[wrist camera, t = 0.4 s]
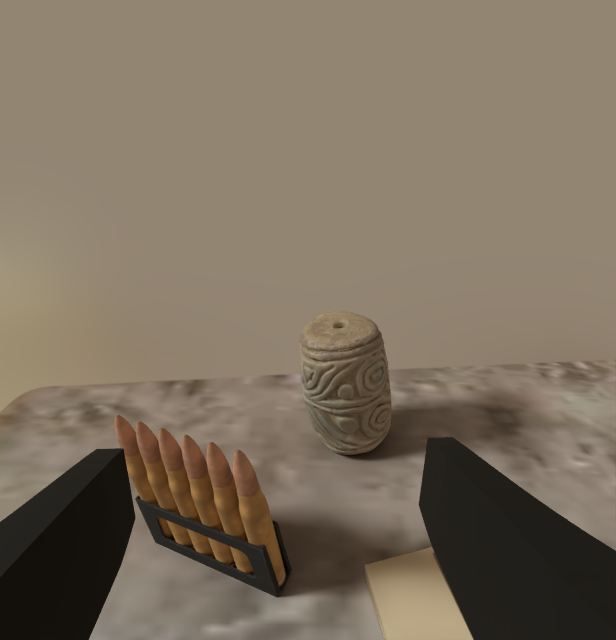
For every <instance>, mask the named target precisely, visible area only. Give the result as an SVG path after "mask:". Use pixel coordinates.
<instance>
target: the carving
mask: <svg viewBox="0 0 616 640" xmlns="http://www.w3.org/2000/svg"><path fill="white" fill-rule="evenodd" d="M299 347H300V356H301V378H302V379H301V381H302V391H303V398H304V401H305V404H306V407H307V410H308V413H309V416H310V419H311V423H312V426H313V428H314V429H315V430H316V432H317V434H318V436H319V438H320V440H321V441H322V443H323V444H324V445H325V446H326V447H327V448H328V449H330V450H331V451H333V452H335V453H339V454H343V455H354V454H360V453H365V452H369V451H371V450H373V449H374V448H375V447H377V446H378V445H379V444H380V443H381V442H382V441H383V439H384V438H385V437H386V435H387V433H388V431H389V429H390V426H391V392H390V383H389V374H388V361H387V358H386V353H385V349H384V342H383V339H382V334H381V332H380V331H379V330H378V327H377V325H376V324H375V323H374V322H373V321H372V320H370V319H368V318H366V317H364V316H361V315H358V314H354V313H349V312H330V313H325V314H323V315H320V316H318V317H316V318H315V319H314V320H313V321H312V322H311V323H309V324H308V325H306V326H305V328H304V329H303V330H302V332H301V336H300V342H299Z"/></svg>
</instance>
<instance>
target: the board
mask: <svg viewBox="0 0 616 640" xmlns="http://www.w3.org/2000/svg"><path fill="white" fill-rule="evenodd" d="M365 578H366V581H367V585H368V588H369V591H370V594H371V598H372V601H373V604H374V608H375V611H376V614H377V617H378V621H379V624H380V627H381V631H382V634H383V637H384V640H474V639H473V637H472V635H471V633H470V630H469V628H468V626H467V624H466V622H465V619H464V617H463V615H462V613H461V610H460V608H459V606H458V604H457V602H456V599H455V597H454V595H453V593H452V591H451V588H450V586H449V584H448V582H447V579H446V577H445V575H444V573H443V570H442V568H441V566H440V564H439V561H438V559H437V557H436V555H435V552H434V550H433V548H432V547H429V548H426V549H422V550H418V551H415V552H411V553H407V554H403V555H400V556H396V557H392V558H389V559H385V560H381V561H377V562H374V563H370V564H366V565H365Z"/></svg>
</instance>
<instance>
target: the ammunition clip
mask: <svg viewBox="0 0 616 640" xmlns="http://www.w3.org/2000/svg"><path fill="white" fill-rule="evenodd" d="M115 430H116V436H117V440H118V443H119V446H120V448H124V453H125V459H126V464H127V470H128V473H129V476H130V478H131V480H132V482H133V484H134V486H135V488H136V490H137V492H138V494H139V495H138V496H137V497H136V502H137V504H138V506H139V508H140V510H141V512H142V515H143V517H144V519H145V521H146V523H147V525H148V527H149V530H150V532H151V534H152V536H153V538H154V540H155V542H156V543H158V544H160V545H162V546H164V547H167V548H169V549H171V550H173V551H175V552H178V553H180V554H182V555H184V556H187V557H189V558H191V559H193V560H195V561H198V562H200V563H202V564H204V565H206V566H209V567H211V568H213V569H215V570H218V571H220V572H222V573H224V574H226V575H229V576H231V577H233V578H235V579H238V580H240V581H242V582H244V583H246V584H249V585H251V586H253V587H255V588H257V589H260V590H262V591H264V592H266V593H269V594H271V595H273V596H275V597H279V596H280V595H281V593H282V591H283V588H284V586H285V584H286V582H287V579H288V577H289V575H290V573H291V567H290V563H289V560H288V557H287V554H286V551H285V547H284V544H283V540H282V537H281V533H280V530H279V526H278V523H277V522H275V521H272V519H271V515H270V511H269V507H268V503H267V500H266V498H265V496H264V494H263V493H262V491H261V488H260V485H259V483H258V480H257V477H256V474H255V472H254V469H253V467H252V465H251V463H250V461H249V460H248V458H247V457H246V455H245V454H244V453H243V452H242V451H240V450H236V452H235V455H234V460H233V474H234V477H233V474H232V472H231V469H230V467H229V464H228V462H227V460H226V458H225V456H224V454H223V453H222V451H221V450H220V448H219V447H218V446H217V445H216V444H214V443H213V442H210V443H209V444H208V447H207V463H206V460H205V458H204V455H203V453H202V451H201V450H200V448H199V446H198V445H197V444H196V442H195V441H194V440H193V439H192V438H191V437H190V436H188V435H184V436H183V440H182V450H181V448H180V446H179V445H178V443H177V441H176V440H175V438H174V437H173V436H172V435H171V434H170V433H169V432H168V431H167V430H166V429H164V428H161V429H160V431H159V437H158V438H159V442H158V440H157V438H156V437H155V435H154V434H153V432H152V431H151V430H150V429H149V428H148V427H147V426H146V425H145V424H144V423H142V422H141V421H139V422H137V425H136V432H135V430H134V429H133V427H132V426H131V425H130V424H129V423H128V422H127V421H126V420H125V419H124V418H123V417H121V416H120V415H117V416H116V418H115Z"/></svg>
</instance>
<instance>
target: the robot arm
mask: <svg viewBox="0 0 616 640" xmlns="http://www.w3.org/2000/svg"><path fill="white" fill-rule="evenodd" d="M419 507H420V510H421V513H422V517H423V520H424V523H425V526H426V530H427V533H428V536H429V539H430V542H431V545H432V548H433V550H434V552H435V555H436V557H437V559H438V561H439V564H440V566H441V568H442V570H443V573H444V575H445V577H446V579H447V582H448V584H449V586H450V588H451V591H452V593H453V595H454V597H455V599H456V602H457V604H458V606H459V608H460V610H461V613H462V615H463V617H464V619H465V622H466V624H467V626H468V628H469V630H470V633H471V635H472V637H473V639H474V640H616V551H615V550H614V549H612V548H610V547H609V546H607V545H605V544H604V543H602V542H601V541H599V540H597V539H596V538H594V537H593V536H591V535H589V534H588V533H586V532H585V531H583V530H582V529H580V528H579V527H577V526H576V525H574V524H573V523H571V522H570V521H568V520H567V519H565V518H564V517H562V516H561V515H559V514H558V513H556V512H555V511H553V510H552V509H550V508H549V507H548V506H546V505H545V504H543V503H542V502H540V501H539V500H538V499H536V498H535V497H533V496H532V495H530V494H529V493H528V492H526V491H525V490H524V489H522V488H521V487H519V486H518V485H517V484H515V483H514V482H513V481H511V480H510V479H509V478H507V477H506V476H504V475H503V474H502V473H500V472H499V471H498V470H496V469H495V468H494V467H492V466H491V465H490V464H488V463H487V462H486V461H484V460H483V459H482V458H480V457H479V456H478V455H476V454H475V453H474V452H472V451H471V450H470V449H468V448H467V447H466V446H464V445H463V444H461V443H460V442H458V441H457V440H455V439H454V438H452V437H445V438H428V441H427V448H426V455H425V463H424V470H423V478H422V485H421V492H420V500H419ZM134 521H135V512H134V506H133V500H132V494H131V489H130V483H129V477H128V471H127V465H126V459H125V453H124V448H120V449H96V450H95V451H93V452H92V453H90V454H89V455H88V456H86V457H85V458H84V459H82V460H81V461H80V462H78V463H77V464H76V465H74V466H73V467H72V468H70V469H69V470H68V471H66V472H65V473H64V474H63V475H61V476H60V477H59V478H57V479H56V480H55V481H54V482H52V483H51V484H50V485H48V486H47V487H46V488H44V489H43V490H42V491H41V492H39V493H38V494H37V495H35V496H34V497H33V498H31V499H30V500H29V501H27V502H26V503H25V504H23V505H22V506H21V507H20V508H18V509H17V510H16V511H14V512H13V513H12V514H10V515H9V516H8V517H6V518H5V519H4V520H2V521H1V522H0V640H89V638H90V635H91V633H92V631H93V629H94V626H95V624H96V622H97V619H98V617H99V615H100V613H101V610H102V608H103V606H104V603H105V601H106V599H107V596H108V594H109V592H110V590H111V587H112V585H113V583H114V580H115V578H116V576H117V573H118V571H119V568H120V566H121V563H122V560H123V557H124V554H125V551H126V548H127V545H128V541H129V538H130V535H131V531H132V528H133V524H134Z"/></svg>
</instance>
